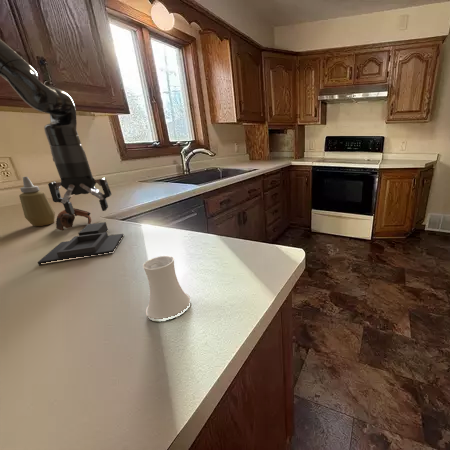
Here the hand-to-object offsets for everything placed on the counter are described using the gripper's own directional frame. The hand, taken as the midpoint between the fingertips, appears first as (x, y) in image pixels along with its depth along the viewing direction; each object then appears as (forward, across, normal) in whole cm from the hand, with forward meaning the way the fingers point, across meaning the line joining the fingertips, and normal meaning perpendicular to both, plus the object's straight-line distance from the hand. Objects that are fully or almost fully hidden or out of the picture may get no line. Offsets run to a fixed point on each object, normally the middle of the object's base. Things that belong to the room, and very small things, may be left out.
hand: (88, 212), depth 79 cm
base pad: (+8, -1, +12) cm, 15 cm away
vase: (+8, -24, +52) cm, 58 cm away
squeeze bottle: (+8, +22, -23) cm, 33 cm away
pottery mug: (+8, +10, -14) cm, 19 cm away
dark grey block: (+8, 0, 0) cm, 8 cm away
